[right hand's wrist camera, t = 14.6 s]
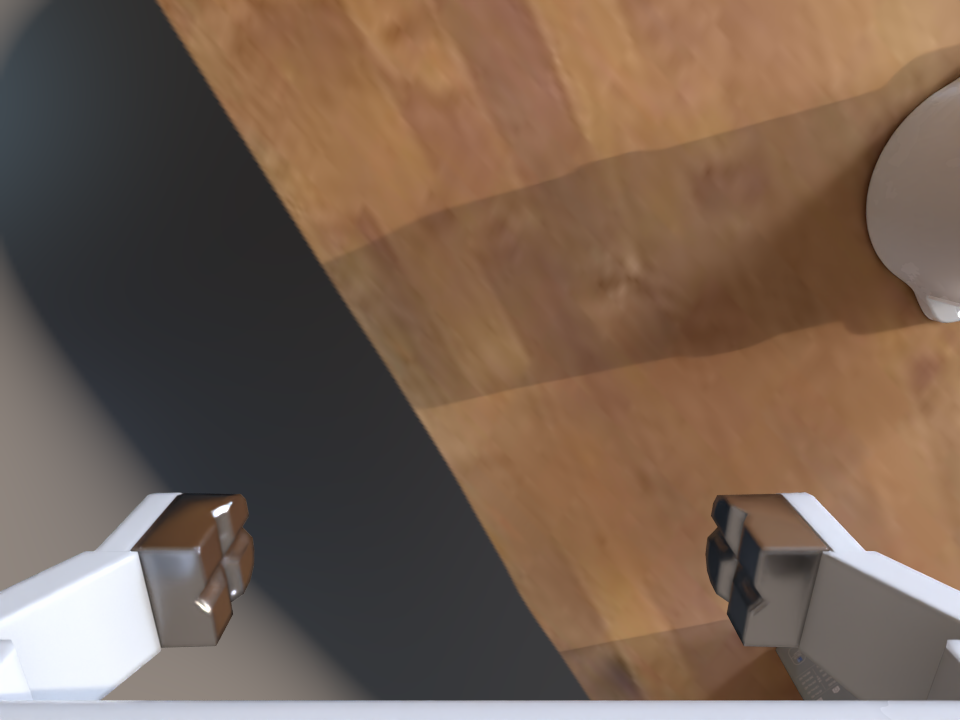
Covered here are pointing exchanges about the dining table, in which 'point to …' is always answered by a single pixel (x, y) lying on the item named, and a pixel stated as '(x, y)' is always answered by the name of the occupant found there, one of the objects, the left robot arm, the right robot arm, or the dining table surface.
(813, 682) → the hard drive box
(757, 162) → the dining table surface
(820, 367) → the dining table surface
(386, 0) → the dining table surface
